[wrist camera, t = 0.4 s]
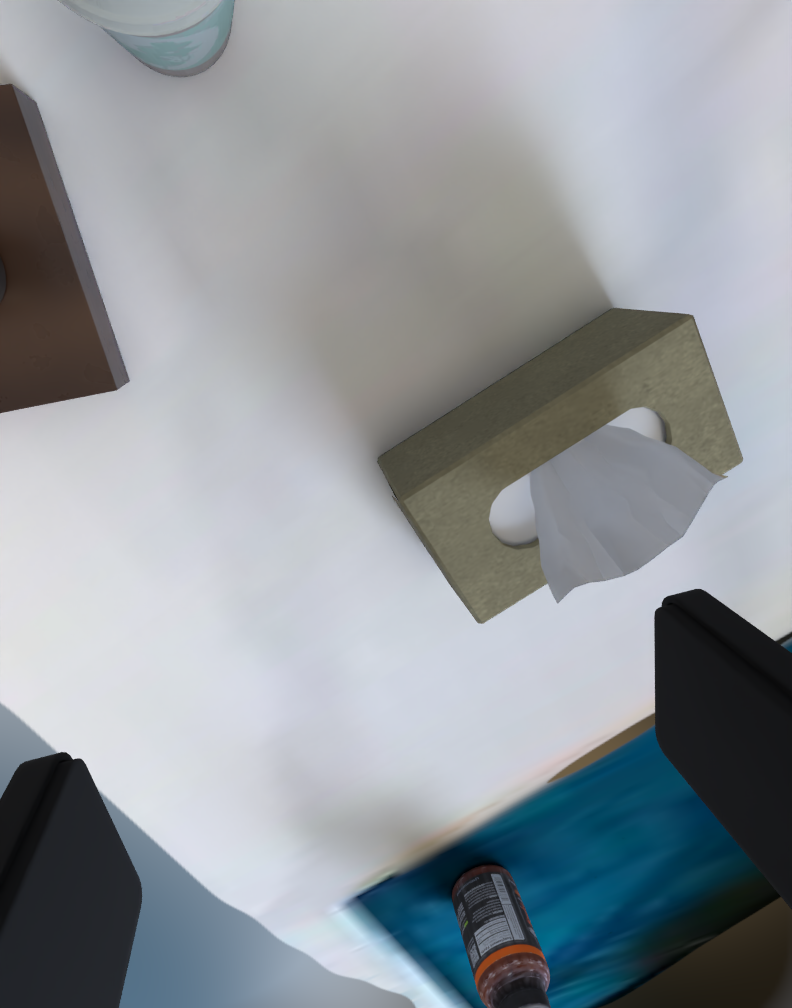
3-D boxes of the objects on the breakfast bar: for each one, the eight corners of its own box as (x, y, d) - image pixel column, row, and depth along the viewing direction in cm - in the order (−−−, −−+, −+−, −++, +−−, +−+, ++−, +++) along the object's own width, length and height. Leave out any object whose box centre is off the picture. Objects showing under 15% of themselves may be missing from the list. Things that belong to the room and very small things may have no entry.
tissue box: (442, 569, 43) (526, 718, 28) (371, 460, 39) (426, 567, 25) (667, 428, 42) (872, 505, 28) (618, 303, 39) (824, 317, 24)
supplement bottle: (515, 896, 57) (569, 1035, 46) (455, 915, 56) (495, 1061, 46) (507, 852, 54) (562, 988, 44) (445, 872, 54) (485, 1015, 43)
